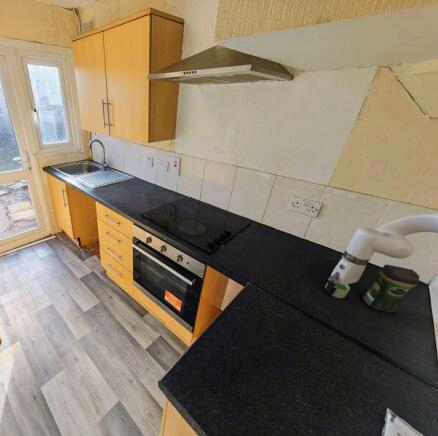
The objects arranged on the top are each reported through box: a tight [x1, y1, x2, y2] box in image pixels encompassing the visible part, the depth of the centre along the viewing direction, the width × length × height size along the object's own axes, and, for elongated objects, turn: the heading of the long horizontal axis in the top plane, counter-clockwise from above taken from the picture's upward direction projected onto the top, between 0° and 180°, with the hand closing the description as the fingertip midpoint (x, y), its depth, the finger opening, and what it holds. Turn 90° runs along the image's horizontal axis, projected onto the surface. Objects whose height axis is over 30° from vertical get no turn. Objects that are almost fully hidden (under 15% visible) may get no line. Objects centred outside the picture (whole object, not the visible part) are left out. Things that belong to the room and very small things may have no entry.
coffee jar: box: [362, 264, 420, 314], centre depth 87 cm, size 10×8×19 cm
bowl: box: [324, 278, 351, 299], centre depth 95 cm, size 7×7×5 cm
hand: (335, 290), depth 96 cm, fingers closed on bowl, 7 cm apart
